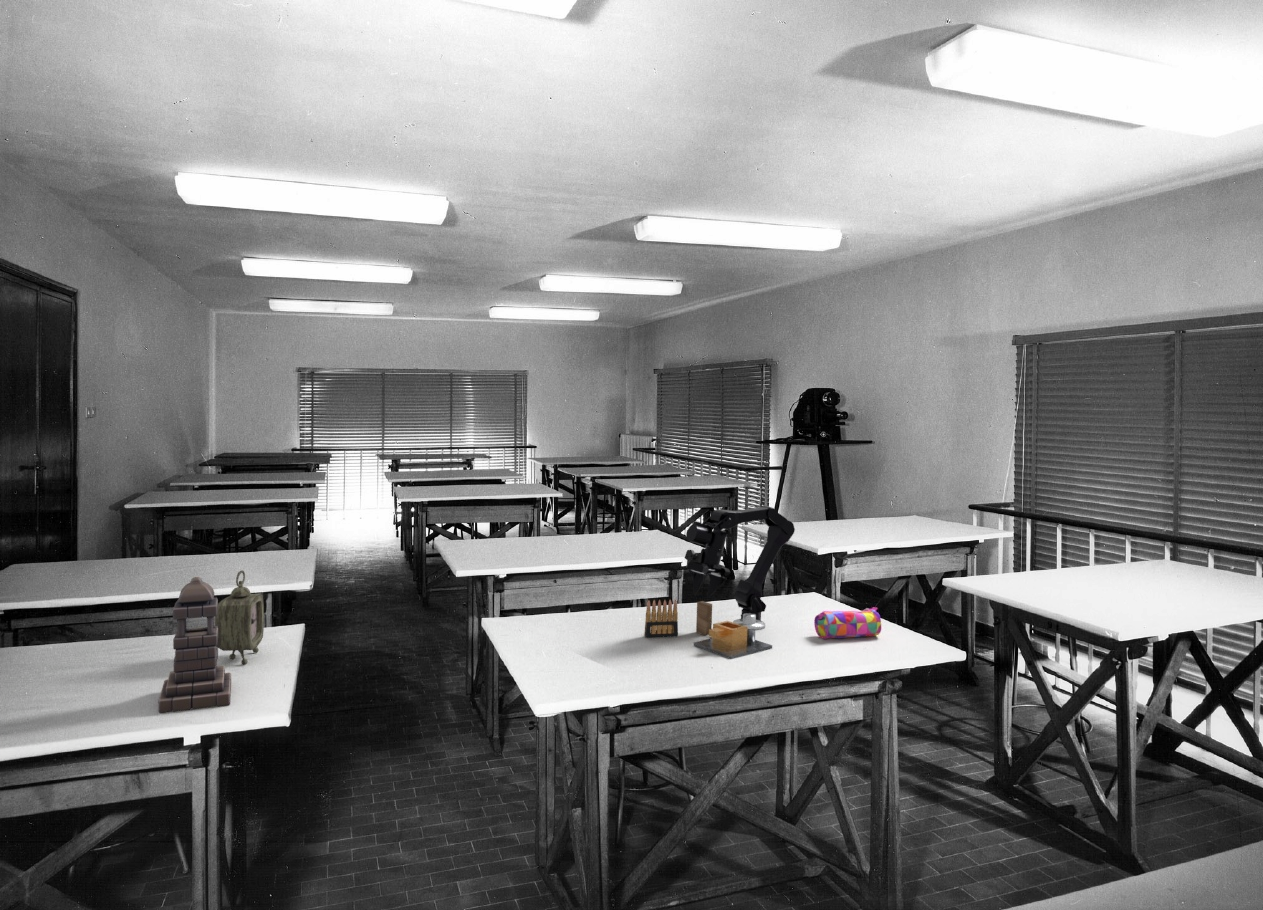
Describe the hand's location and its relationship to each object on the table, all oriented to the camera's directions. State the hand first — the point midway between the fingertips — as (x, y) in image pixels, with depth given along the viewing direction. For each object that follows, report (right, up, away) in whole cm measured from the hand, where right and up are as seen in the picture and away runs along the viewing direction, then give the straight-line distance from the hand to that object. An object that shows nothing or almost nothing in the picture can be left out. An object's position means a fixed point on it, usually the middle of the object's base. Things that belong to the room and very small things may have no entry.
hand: (702, 595), depth 265 cm
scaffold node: (+10, -14, -11) cm, 20 cm away
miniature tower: (-129, -14, -65) cm, 145 cm away
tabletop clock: (-133, -12, -35) cm, 138 cm away
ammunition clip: (-13, -13, -3) cm, 19 cm away
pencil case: (+48, -14, +3) cm, 50 cm away
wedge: (+1, -13, +2) cm, 13 cm away
